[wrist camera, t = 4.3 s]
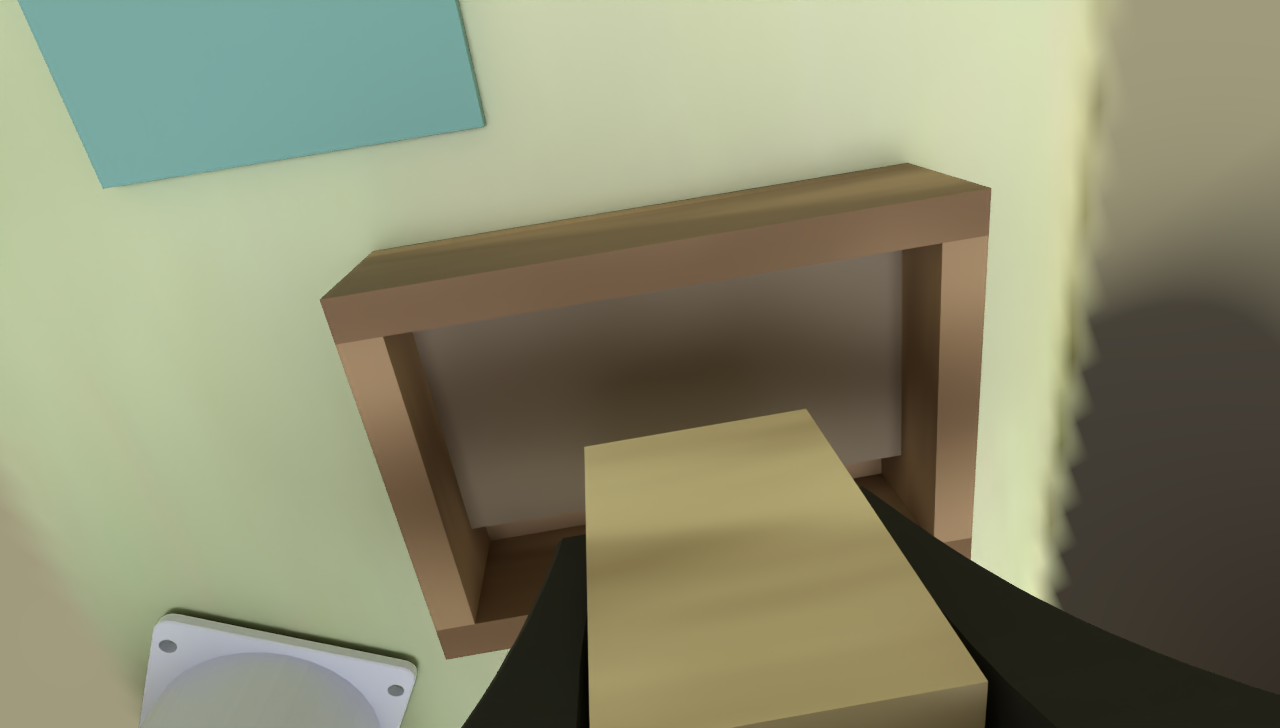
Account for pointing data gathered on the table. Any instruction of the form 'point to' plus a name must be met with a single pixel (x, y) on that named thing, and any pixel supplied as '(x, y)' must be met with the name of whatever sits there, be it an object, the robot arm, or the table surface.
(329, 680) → the robot arm
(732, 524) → the maple block
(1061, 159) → the table surface
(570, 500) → the walnut crate
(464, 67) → the teal mat
